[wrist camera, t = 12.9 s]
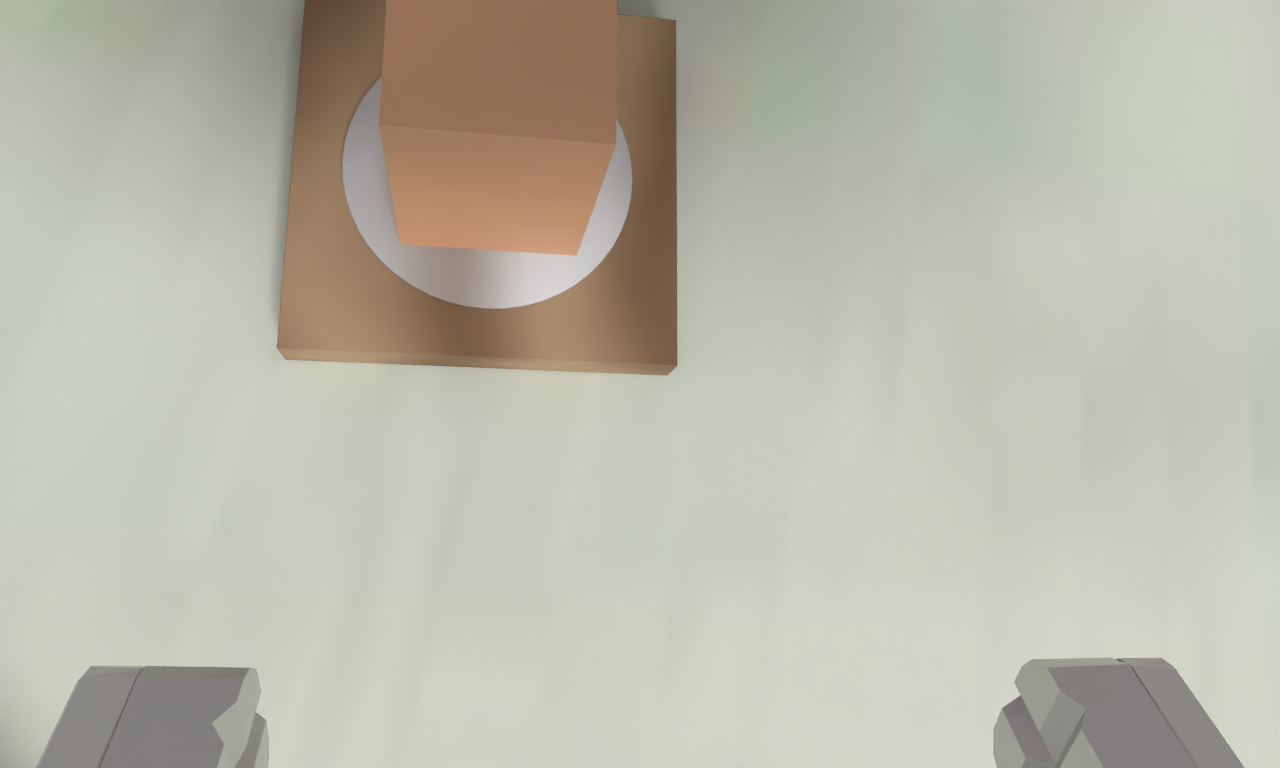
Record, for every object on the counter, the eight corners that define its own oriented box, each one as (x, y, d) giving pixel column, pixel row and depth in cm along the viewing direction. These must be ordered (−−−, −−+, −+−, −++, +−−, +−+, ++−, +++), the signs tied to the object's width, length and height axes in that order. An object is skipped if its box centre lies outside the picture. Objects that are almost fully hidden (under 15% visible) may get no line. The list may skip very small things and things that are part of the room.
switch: (666, 43, 35) (694, -31, 30) (667, 375, 32) (698, 344, 28) (313, 8, 32) (291, -77, 28) (285, 359, 30) (257, 323, 26)
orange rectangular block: (579, 96, 32) (618, -60, 24) (576, 255, 31) (616, 144, 23) (409, 81, 31) (392, -87, 23) (399, 244, 30) (378, 124, 22)
